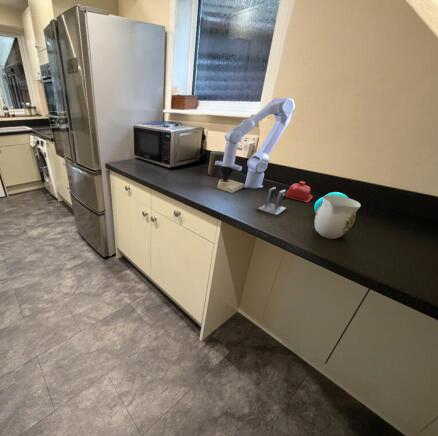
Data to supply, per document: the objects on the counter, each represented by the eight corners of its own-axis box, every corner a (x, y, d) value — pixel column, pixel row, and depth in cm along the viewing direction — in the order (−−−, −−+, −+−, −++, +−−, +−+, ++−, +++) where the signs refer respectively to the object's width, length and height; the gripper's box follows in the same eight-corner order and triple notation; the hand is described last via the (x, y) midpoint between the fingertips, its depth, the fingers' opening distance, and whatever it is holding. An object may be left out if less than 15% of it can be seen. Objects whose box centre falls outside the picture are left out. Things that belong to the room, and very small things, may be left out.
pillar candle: (217, 178, 141) (221, 153, 134) (204, 174, 148) (207, 150, 141) (226, 175, 146) (230, 150, 139) (213, 171, 153) (217, 148, 146)
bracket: (267, 204, 108) (273, 184, 103) (285, 210, 102) (292, 189, 98) (257, 210, 102) (262, 189, 97) (275, 217, 97) (282, 195, 92)
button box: (227, 182, 133) (229, 176, 131) (243, 187, 127) (245, 180, 125) (215, 187, 126) (216, 180, 124) (231, 193, 120) (232, 185, 118)
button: (223, 182, 127) (224, 179, 126) (229, 184, 125) (230, 180, 124) (219, 183, 125) (220, 180, 124) (225, 185, 123) (226, 182, 122)
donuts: (309, 215, 98) (317, 193, 93) (318, 209, 104) (327, 188, 99) (337, 225, 91) (347, 202, 86) (345, 218, 97) (356, 195, 92)
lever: (277, 199, 107) (280, 193, 107) (284, 201, 105) (288, 195, 105) (270, 195, 99) (273, 188, 98) (277, 197, 97) (281, 190, 96)
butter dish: (312, 197, 115) (319, 181, 111) (307, 204, 108) (313, 187, 104) (287, 191, 122) (292, 176, 118) (280, 198, 115) (285, 181, 111)
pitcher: (353, 231, 87) (371, 197, 80) (336, 248, 77) (354, 211, 71) (320, 220, 95) (334, 188, 88) (301, 234, 85) (314, 199, 78)
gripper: (213, 153, 120) (209, 178, 126) (238, 159, 110) (233, 186, 117) (220, 151, 124) (216, 176, 131) (246, 156, 115) (240, 183, 121)
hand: (225, 180), depth 124 cm, fingers closed, pressing on button
